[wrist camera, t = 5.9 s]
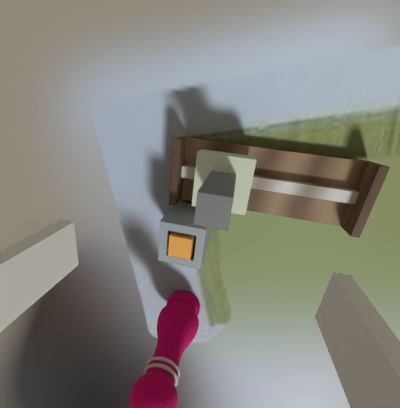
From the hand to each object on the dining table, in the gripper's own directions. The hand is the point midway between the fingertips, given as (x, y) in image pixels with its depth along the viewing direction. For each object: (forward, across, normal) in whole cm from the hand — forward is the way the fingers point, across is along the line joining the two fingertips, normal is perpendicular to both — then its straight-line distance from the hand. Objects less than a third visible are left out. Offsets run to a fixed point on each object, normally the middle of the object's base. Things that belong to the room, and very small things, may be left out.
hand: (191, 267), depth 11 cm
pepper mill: (+23, +4, +26) cm, 35 cm away
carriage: (+20, 0, 0) cm, 20 cm away
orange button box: (+23, +4, +8) cm, 25 cm away
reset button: (+20, +4, +9) cm, 22 cm away
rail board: (+23, -6, 0) cm, 23 cm away
